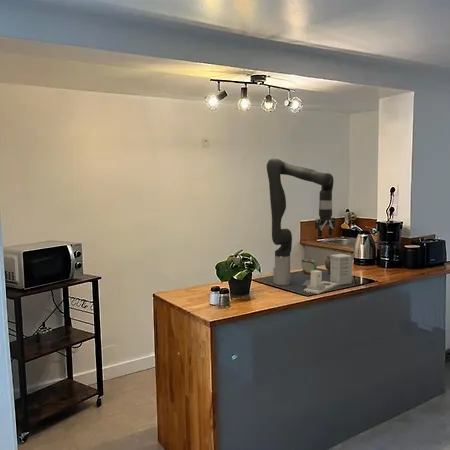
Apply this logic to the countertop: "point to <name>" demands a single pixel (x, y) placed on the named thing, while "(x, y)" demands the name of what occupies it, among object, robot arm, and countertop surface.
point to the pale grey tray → (323, 288)
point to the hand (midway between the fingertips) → (325, 236)
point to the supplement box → (341, 269)
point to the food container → (309, 266)
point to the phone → (306, 283)
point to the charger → (316, 278)
